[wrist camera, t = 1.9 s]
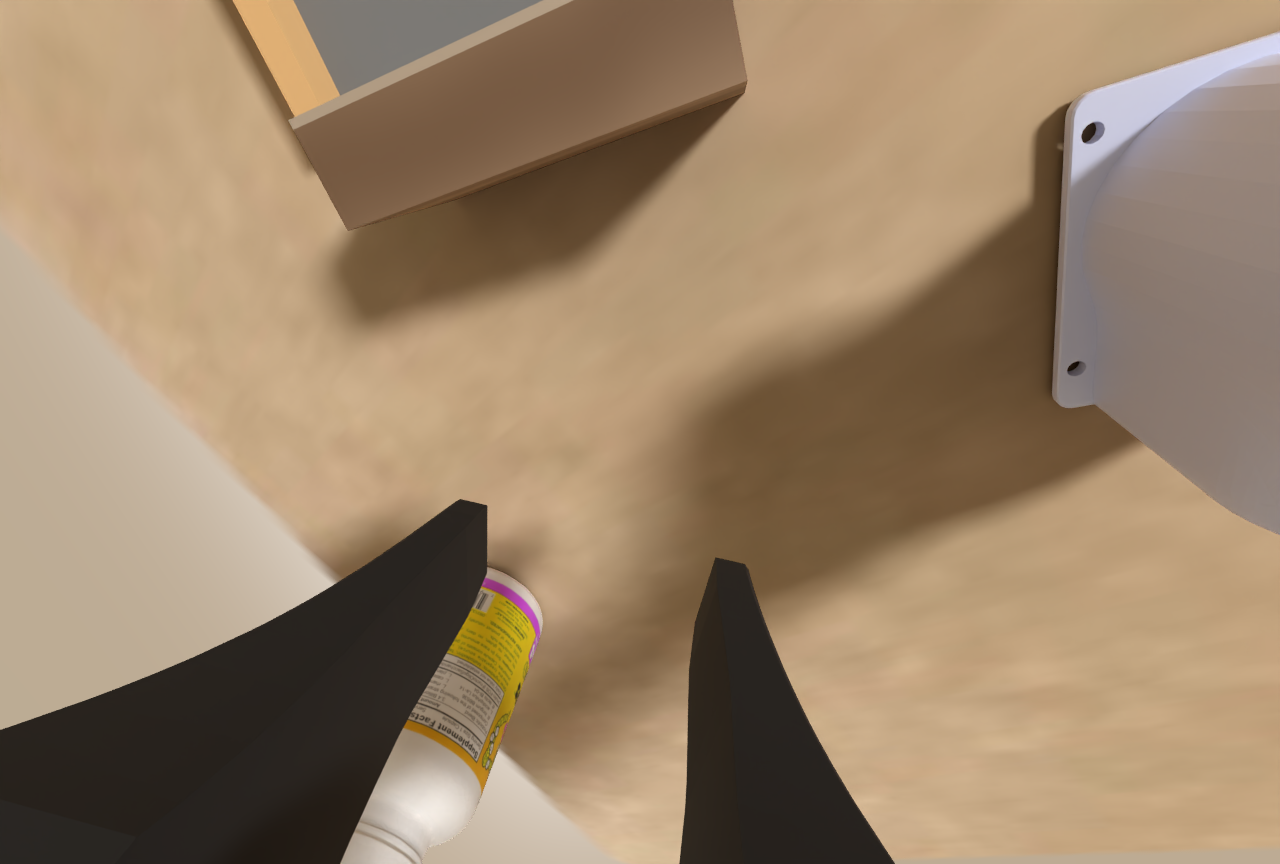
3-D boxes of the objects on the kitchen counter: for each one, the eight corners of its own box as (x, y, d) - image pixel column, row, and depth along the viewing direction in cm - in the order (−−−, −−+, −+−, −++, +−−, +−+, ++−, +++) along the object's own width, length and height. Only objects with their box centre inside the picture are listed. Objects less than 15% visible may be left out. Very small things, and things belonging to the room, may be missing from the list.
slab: (744, 92, 16) (747, 80, 10) (456, 199, 18) (347, 230, 13) (724, -12, 14) (717, -82, 9) (421, 119, 17) (288, 120, 12)
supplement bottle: (494, 658, 31) (363, 948, 20) (406, 589, 29) (210, 869, 18) (572, 618, 28) (469, 932, 17) (481, 538, 26) (300, 835, 15)
